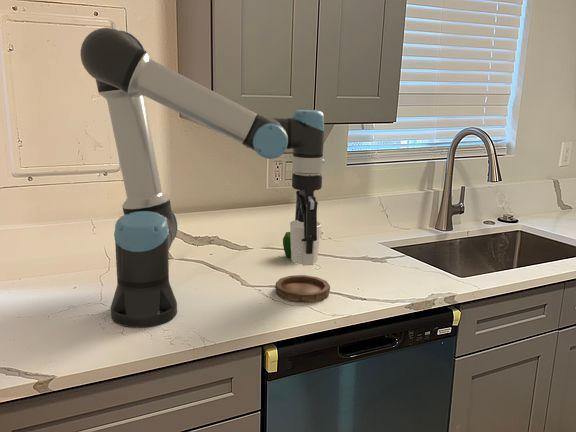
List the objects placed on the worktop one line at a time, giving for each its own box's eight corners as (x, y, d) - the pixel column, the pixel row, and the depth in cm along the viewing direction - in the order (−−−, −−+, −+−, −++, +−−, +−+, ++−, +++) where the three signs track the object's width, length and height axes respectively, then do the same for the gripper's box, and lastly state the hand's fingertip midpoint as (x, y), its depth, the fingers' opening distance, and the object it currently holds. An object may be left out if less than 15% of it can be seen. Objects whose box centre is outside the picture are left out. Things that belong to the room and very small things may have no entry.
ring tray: (280, 304, 141) (281, 296, 141) (272, 283, 155) (272, 276, 154) (335, 301, 144) (335, 293, 143) (321, 281, 157) (322, 274, 157)
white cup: (316, 266, 142) (318, 228, 140) (286, 264, 144) (287, 226, 141) (321, 257, 150) (323, 220, 147) (292, 254, 151) (293, 218, 149)
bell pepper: (291, 263, 171) (292, 232, 169) (278, 255, 178) (279, 225, 175) (314, 260, 175) (316, 229, 173) (301, 252, 182) (302, 222, 180)
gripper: (332, 180, 132) (328, 272, 138) (312, 166, 152) (309, 247, 157) (301, 181, 131) (298, 273, 136) (285, 166, 150) (283, 248, 156)
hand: (304, 259), depth 147 cm, fingers closed on white cup, 8 cm apart
